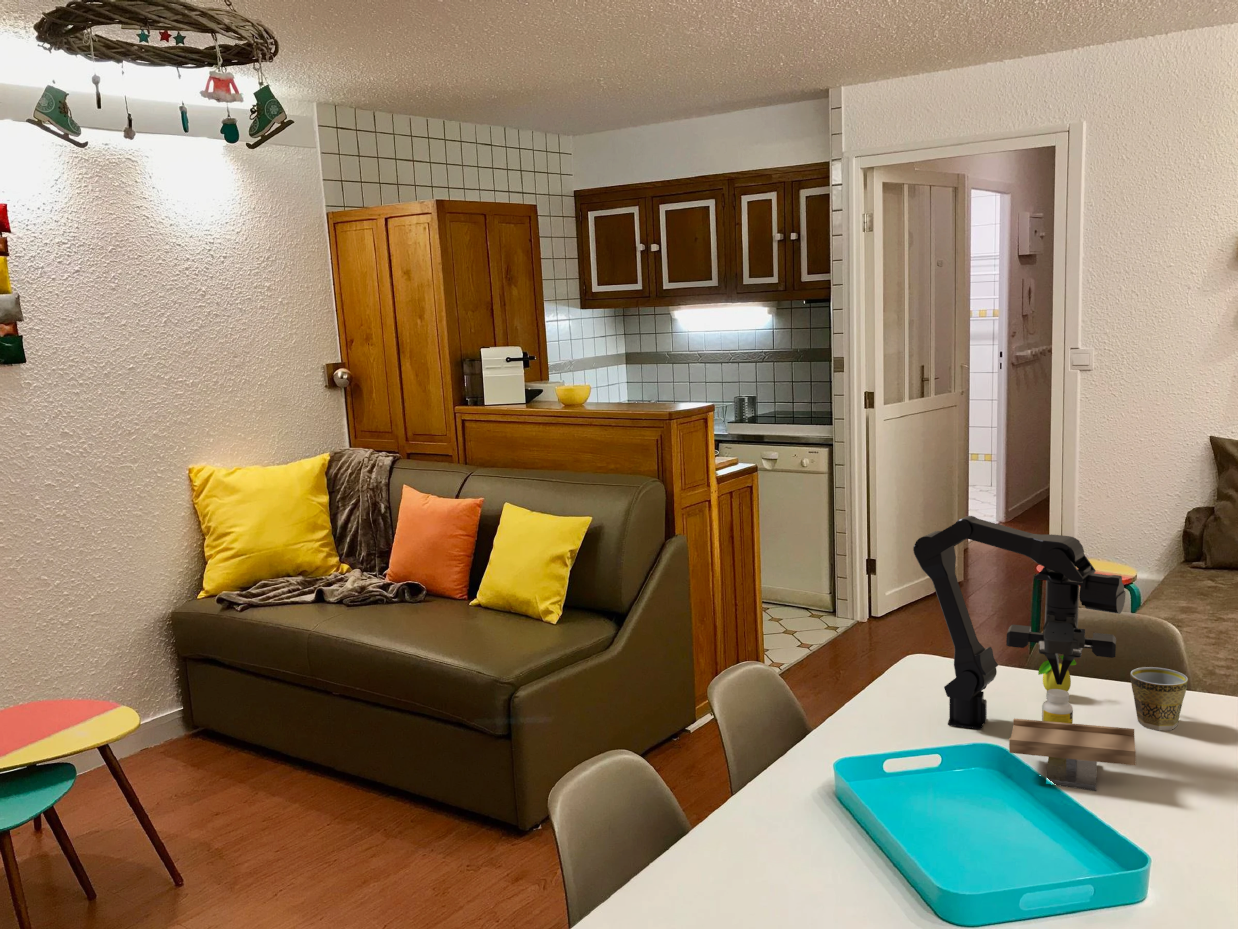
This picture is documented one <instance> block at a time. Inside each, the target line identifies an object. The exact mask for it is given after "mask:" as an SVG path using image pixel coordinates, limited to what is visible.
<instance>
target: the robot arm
mask: <svg viewBox="0 0 1238 929" xmlns="http://www.w3.org/2000/svg"><path fill="white" fill-rule="evenodd" d="M966 540H970V541H974V542H977V543H981V544H984V545H986V546H987V545H988V546H992V547H994V548H998V549H1002V550H1005V551H1008V552H1012V553H1016V554H1019V555H1023V556H1025V557H1028V558H1030V559H1031V560H1032V561H1033V562H1035V563H1036V564H1037V565H1039V566H1041V567H1043V568H1042V569H1041V570H1040V571H1039V572H1038V573H1036V574H1035V575H1034V579H1035V580H1039V581H1045V608H1044V624H1043V627H1042V628H1043V629H1042V630H1043V631H1042V632H1034V631H1032V626H1030V625H1021V624H1011V625H1010V626H1009V627H1008V630H1007V632H1006V646H1007V647H1010V648H1011V647H1012V648H1018V649H1019V648H1020V649H1025V648H1026V647H1027V646H1029V643H1034V644H1035V643H1036V644H1038V646H1039V647H1038V653H1039V654H1040V655H1044V656H1045V657H1046V658H1047V660H1048V661H1049V663H1050V665H1051V668H1052V671H1053V674H1054V677H1055V680H1056V683H1057V685H1062V682H1063V680H1064V677H1065V675H1066V672H1067V670H1068V671H1069V667H1070V666H1071V665H1070V664H1071V662H1072V661H1073V660H1075V659H1080V658H1082V652H1083V649H1090V650H1091V652H1092V653H1093V654H1094V655H1095V656H1096V657H1102V658H1112V659H1113V658H1116V655H1117V654H1116V652H1117V651H1116V648H1117V638H1116V636H1115V635H1114V634H1113V633H1112V634H1111V633H1109V634H1108V633H1100V632H1093V633H1092V637H1086V628H1085V629H1084V628H1079V607H1080V606H1079V604H1080V603H1081V604H1080V605H1081V606H1083V607H1085V609H1086V610H1093V611H1098V612H1099V611H1100V612H1105V613H1111V614H1117V615H1120V614H1122V611H1123V609H1124V607H1125V602H1126V591H1125V586H1124V583H1123V576H1122V575H1116V574H1110V575H1109V574H1102V573H1096V572H1097V571H1096V568H1094V566H1093V564H1092V563H1091V562H1090V560H1089V558H1088V557H1087V556H1086V555H1085V550H1084V546H1083V545H1082V543H1081V542H1080V540H1079V539H1077V538H1076V537H1074V536H1070V535H1062V534H1039V533H1031V532H1029V531H1024V530H1020V529H1018V528H1014V527H1011V526H1006V525H1002V524H999V523H998V524H997V523H995V522H992V521H987V520H983V519H980V518H977V517H976V516H974V515H968V516H967V515H966V516H964V517H962V518H960V519H958V520H956V522H955V523H953V524H952V525H950V526H948V527H946V528H945V529H943V530H935V531H932V532H930V533H928V534H926V535H924V536H920V537H919V538H918V539H917V540H915V543H914V545H913V548H912V549H913V550H912V551H913V555H914V558H915V559H916V561H917V562H918V564H919V566H920V568H921V570H922V571H923V572H924V573H925V574H926V575H927V576H928V578H929V579H930V580H931V582H932V585H933V589H935V593H936V596H937V599H938V602H939V604H940V608H941V611H942V614H943V617H944V620H945V622H946V626H947V629H948V632H949V636H950V638H951V642H952V644H953V646H954V653H953V654H954V656H953V668H954V675H955V677H954V678H953V679H952V680H951V681H950V682H948V683H947V684H946V685H944V686H943V688H944V692H945V695H946V697H948V698H949V701H948V705H949V707H948V710H949V714H948V715H949V716H948V717H949V718H948V721H947V726H950V725H952V726H951V727H960V728H967V729H975V730H983V726H984V724H986V722H987V720H988V718H987V717H988V716H987V714H988V713H987V708H988V706H987V699H985V698H984V697H985V695H984V691H983V690H985V689H986V688H987V686H988V685H989V684H990V683H991V682H992V681H994V680H995V678H996V676H997V667H999V664H998V662H997V661H996V659H995V656H994V650H993V648H992V647H991V646H988V647H984V646H983V645H982V643H981V642H979V640H978V638H977V634H976V632H975V628H974V626H973V625H974V624H973V622H972V620H971V616H970V614H969V611H968V608H967V605H966V602H965V598H964V596H963V593H962V590H961V587H960V584H959V581H958V577H957V574H956V562H957V556H956V551H955V549H956V548H955V547H956V546H957V545H959V544H962V542H964V541H966ZM1059 655H1064V656H1063V660H1062V661H1061V662H1062V663H1061V664H1062V666H1061V671H1059V663H1060V662H1059Z"/></svg>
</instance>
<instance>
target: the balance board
mask: <svg viewBox="0 0 1238 929" xmlns="http://www.w3.org/2000/svg"><path fill="white" fill-rule="evenodd" d="M1012 721H1013V722H1012V723H1013V725H1012V731H1011V735H1010V737H1009V738H1008V739H1009V740H1008V748H1009V750H1008V751H1009V754H1017V755H1019V754H1020V755H1027V756H1037V757H1046V758H1048V757H1056V758H1066V759H1076V760H1086V761H1096V762H1097V763H1107V764H1117V765H1126V766H1134V767H1135V766H1136V764H1137V762H1136V760H1137V759H1136V757H1137V756H1136V740H1135V739H1136V738H1135V737H1136V736H1135V728H1128V727H1116V726H1104V725H1096V724H1095V725H1094V724H1083V723H1081V724H1080V723H1073V722H1072V723H1061V722H1049V721H1042V720H1037V719H1024V718H1015V717H1014V718H1013V720H1012Z"/></svg>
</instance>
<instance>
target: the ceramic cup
mask: <svg viewBox="0 0 1238 929" xmlns="http://www.w3.org/2000/svg"><path fill="white" fill-rule="evenodd" d="M1129 676H1130V684H1131V691H1132V694H1133V699H1134V706H1135V712H1136V718H1137V722H1138V723H1139V724H1140V725H1141V726H1143V728H1145V727H1147V728H1146V729H1149V728H1150V729H1149V730H1153V729H1154V730H1153V731H1158V730H1159V732H1161V731H1160V730H1170V731H1173V730H1174V729H1175V728H1176V727H1177V726H1178V723H1179V721H1180V720H1179V719H1180V714H1181V710H1182V707H1183V704H1184V703H1183V701H1184V699H1185V695H1186V692H1187V688H1188V681H1189V678H1188V677H1187V675H1185V674H1184V673H1182V672H1179V671H1177V670H1174V669H1169V668H1164V667H1157V666H1156V667H1153V666H1149V667H1148V666H1147V667H1146V666H1139V667H1138V668H1135V669H1132V670H1131V671H1130V673H1129ZM1172 729H1173V730H1172Z"/></svg>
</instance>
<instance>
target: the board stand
mask: <svg viewBox="0 0 1238 929" xmlns="http://www.w3.org/2000/svg"><path fill="white" fill-rule="evenodd" d="M1047 759H1048V760H1047V766H1046V773H1045V778H1046V777H1047V778H1048V779H1049V780H1050V781H1052V782H1053V783H1054V784H1056V785H1057V787H1062V788H1063V787H1065V788H1071V789H1080V790H1086V791H1092V792H1093V791H1094V792H1097V772H1098V771H1097V769H1098V767H1097V764H1098V762H1096V761H1086V760H1076V759H1066V758H1056V757H1047ZM1056 785H1055V786H1056Z"/></svg>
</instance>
